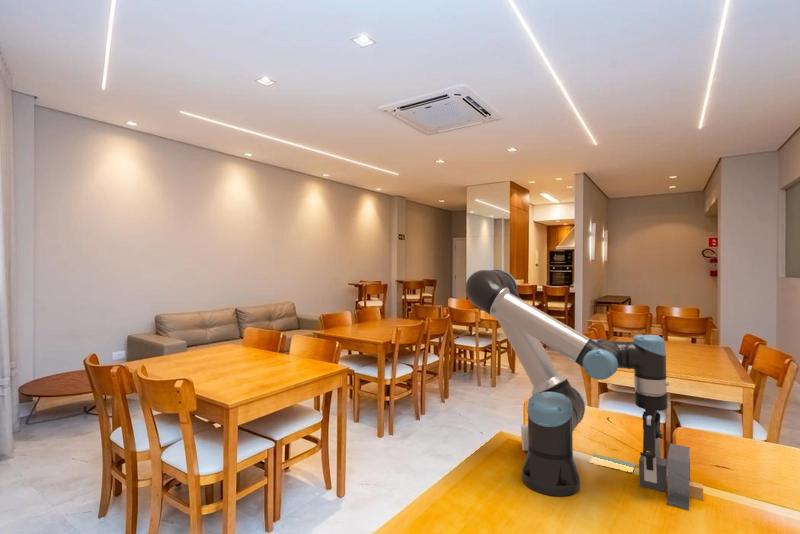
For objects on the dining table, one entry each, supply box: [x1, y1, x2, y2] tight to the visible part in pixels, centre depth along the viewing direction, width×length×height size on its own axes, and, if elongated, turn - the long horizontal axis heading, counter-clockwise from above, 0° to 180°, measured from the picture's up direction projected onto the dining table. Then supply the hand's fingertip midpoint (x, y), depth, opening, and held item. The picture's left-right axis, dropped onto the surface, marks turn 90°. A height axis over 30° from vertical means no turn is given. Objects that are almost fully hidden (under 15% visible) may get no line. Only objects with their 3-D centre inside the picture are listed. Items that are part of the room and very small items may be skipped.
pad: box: [591, 453, 637, 474], centre depth 126 cm, size 12×7×1 cm, turn 54°
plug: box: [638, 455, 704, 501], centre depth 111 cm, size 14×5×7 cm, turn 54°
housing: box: [666, 442, 692, 511], centre depth 110 cm, size 4×17×10 cm, turn 144°
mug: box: [520, 424, 528, 452], centre depth 138 cm, size 12×10×8 cm
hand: (653, 471), depth 113 cm, fingers open, 13 cm apart
